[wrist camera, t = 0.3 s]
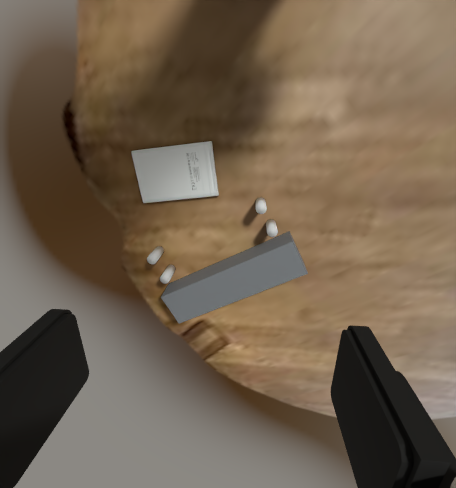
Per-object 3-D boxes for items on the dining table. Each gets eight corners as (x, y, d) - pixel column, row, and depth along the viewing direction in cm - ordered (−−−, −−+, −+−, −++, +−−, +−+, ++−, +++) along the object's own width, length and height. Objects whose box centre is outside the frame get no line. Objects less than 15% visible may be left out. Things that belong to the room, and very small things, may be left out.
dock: (147, 251, 49) (137, 262, 44) (271, 191, 43) (273, 198, 39) (184, 308, 53) (178, 323, 48) (303, 261, 47) (307, 273, 42)
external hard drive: (134, 150, 43) (212, 140, 41) (146, 201, 46) (219, 194, 44) (130, 150, 41) (211, 141, 40) (142, 203, 44) (218, 196, 43)
